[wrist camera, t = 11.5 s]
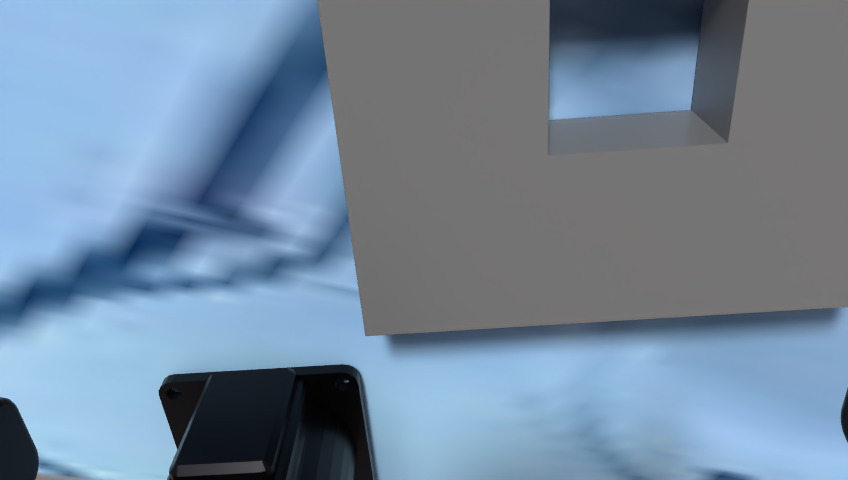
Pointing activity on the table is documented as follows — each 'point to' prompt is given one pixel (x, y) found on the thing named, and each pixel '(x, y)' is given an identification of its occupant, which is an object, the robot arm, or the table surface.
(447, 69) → the keyhole plate
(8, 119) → the table surface
